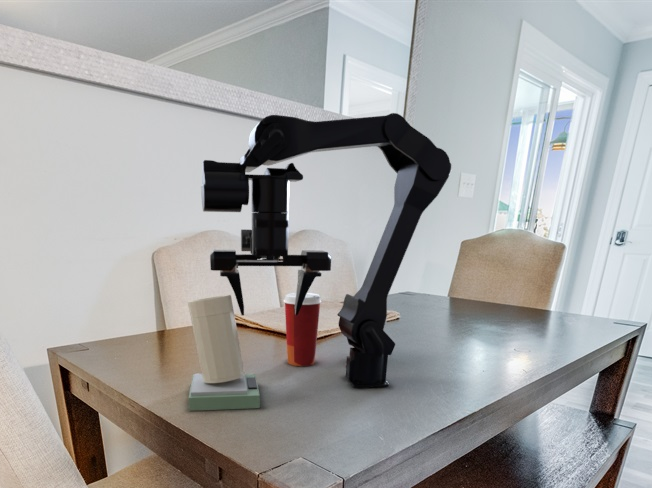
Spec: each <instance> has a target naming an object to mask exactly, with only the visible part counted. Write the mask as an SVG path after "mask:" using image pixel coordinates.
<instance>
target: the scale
mask: <svg viewBox="0 0 652 488" xmlns="http://www.w3.org/2000/svg"><path fill="white" fill-rule="evenodd" d="M187 400H188V410H189V412H193V411H194V412H196V411H217V410H218V411H220V410H222V411H223V410H245V409H248V410H249V409H260V408H261V396H260V390H259V386H258V382H257V377H256V373H245V372H244V376H242V377H240V378H238V379H235V380H231V381H227V382H221V383H205V382H204V380H203V377H202V372H200V373H193V375H192V376H191V381H190V388H189V393H188V399H187Z"/></svg>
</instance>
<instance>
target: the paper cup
mask: <svg viewBox="0 0 652 488" xmlns="http://www.w3.org/2000/svg"><path fill="white" fill-rule="evenodd" d="M295 299H296V292H290V293H286V294H285V296H284V299H283V301H282V302H283V303H284V311H285V313H284V314H285V333H286V334H285V335H286V336H285V337H286V355H287V364H289V366H290V365H291V366H295V367H308V366H312V365H314V364H315V360H316V352H317V342H318V341H317V340H318V332H319V321H320V320H319V319H320V309H321V303H322V302H323V301H322V300H321V296H320V294H318V293H316V292H315V293H314V292H307V294H306V296H305V299H304V301H303V304H302V306H301V309H300V311H299V314H298V315H295Z"/></svg>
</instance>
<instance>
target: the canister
mask: <svg viewBox="0 0 652 488" xmlns="http://www.w3.org/2000/svg"><path fill="white" fill-rule="evenodd" d="M187 306H188V312H189V317H190V321H191V327H192V331H193V336H194V342H195V346H196V352H197V357H198V361H199V366H200V371H201V372H200V373H202V377H203V380H204V382H205V383H221V382H227V381H231V380H235V379H238V378H240V377H242V376H244V373H245V369H244V361H243V358H242V357H243V356H242V350H241V346H240V339H239V334H238V327H237V322H236V317H235V316H236V315H235V310H234V304H233V299H232V295H231V294H226V295H218V296H211V297H203V298H199V299H194V300H189V301H187Z"/></svg>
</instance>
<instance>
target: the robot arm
mask: <svg viewBox="0 0 652 488" xmlns="http://www.w3.org/2000/svg"><path fill="white" fill-rule="evenodd" d="M370 147H378V149H379V150H380V151H381V152H382V154H383V157H384V159H385V160H386V161H387V163H388V165H389V167H390V168H391V169H392V170H393V171H394V172H395V173H396V174H397V175H396V177H395V178H396V179H395V183H394V192H393V193H394V195H393V197H394V198H393V199H394V203H393V207H392V210H391V213H390V214H389V217H388V220H387V222H386V225H385V227H384V230H383V233H382V234H381V237H380V240H379V242H378V245H377V248H376V250H375V252H374V255H373V258H372V260H371V262H370V265H369V268H368V270H367V273H366V275H365V278H364V280H363V283H362V285H361V287H360V288H359V290H358V291H357V292H355V294H354V295H351V294H349V293H346V294H345V295H344V298H343V302H342V303H343V304H342V307H341V309H340V311H339V312H338V313H337V314H336V315H337V317H339V320H338V328H339V330H340V333H341V334H342V335H343V336H344V337H346V340H347V343H348V345H349V346H352V347H349V355H347V356H346V360H345V364H346V365H345V379H346V380H347V381H348V382H349V383H350V385H351V386H352V387H353V388H355V389H364V388H365V389H366V388H388V387H390V384H389V382H388V381H387V374H388V373H387V372H388V362H389V361H388V360H389V356H391V355H392V353H393V351H394V349H395V347H396V342H395V341H394V340H393V339H392V338H391V337H390V336H389V335H388V334H387V333H386V332H385V330H384V329H385V326H386V325H385V322H387V318H388V296H389V294H390V291H391V288H392V286H393V284H394V281H395V279H396V277H397V275H398V272H399V270H400V267H401V265H402V262H403V261H404V257H405V255H406V252H407V250H408V248H409V245H410V244H411V240H412V238H413V236H414V233H415V232H416V229H417V226H418V225H419V221H420V219H421V216H422V214H423V213H424V212H425V211H426V210H427V209H428V207H429V206H430V205H431V204H432V203H433V201H435V199H436V198H437V197H438V196H439V194H440V193H441V191H442V189H443V188H444V186H445V184H446V182H447V181H448V179H449V177H450V175H451V171H452V163H451V161H450V157H449V155H448V154H447V152H446V151H445V150H444V149H442V148H440V147H437V146H436V145H435V143H434V142H433V141H432V140H431V139H430V138H429V137H428V136H426V135H424V134H423V133H422V132H420V131H419V130H417V129H416V128H415V127H414V126H411V124H410V123H409V122H408V121H407V120H406V118H405V117H403V115H401V114H400V113H397V112H392V113H389V114H386V115H376V116H365V117H353V118H344V119H341V118H340V119H332V120H321V121H320V120H319V121H312V120H306V119H303V118H299V117H296V116H287V115H280V114H270V115H267V116H265V117H264V118H262V119H261V120H260V121H258V123H257V124H256V125H255V126H254V127H253V128H252V129H251V131H250V134H249V137H248V149H247V150H246V151H245V154H244V155H243V156H242V157H240V158H239V162H226V161H225V162H224V161H222V162H220V161H216V160H211V159H204V160H203V161H202V163H201V164H202V165H201V167H202V174H201V186H200V195H201V207H202V211H203V212H204V213H205V212H206V213H209V212H211V213H241V212H242V210H243V206H248V205H249V201H250V192H251V229H240V251H241V252H250V254H247V253H244V254H243V253H242V254H241V253H237V251H236V250H235V249H213V250H212V251H211V252H210V254H209V263H210V264H209V265H210V271H214V272H217V271H218V272H219V276H220V277H222V278H223V277H226V278H227V280H228V283H229V284H230V286H231V288H232V289H231V290H232V291H233V293H234V296H235V299H236V303H237V305H238V308H239V311H240V314H241V316H245V305H244V304H245V302H244V297H243V289H242V284H241V283H242V282H241V276H240V272H239V267H300V269H298V270H297V285H296V292H295V293H296V299H295V315H298V314H299V311H300V309H301V306H302V304H303V301H304V299H305V296H306V294H307V293H309V292H308V291H309V290H310V288H311V286H312V284H313V283H314V281H315V279H316V278H319V277H322V272H330V271H331V270H332V257H331V255H330V252H328V251H325V250H316V249H315V250H310V249H309V250H306V249H305V250H303V249H302V250H301V253H300V254H289V231H290V230H289V227H290V183H291V182H293V183H296V182H300V181H303V179H304V175H303V174H302V173H301V172H300V171H299V169H297V167H296V166H295V164H294V162H290V163H289V164H287V165H286V166H285V168H281V167H267V168H265V171H264V174H250V173H251V172H253V171H255V170H256V169H258V168H259V167H261V166H274V165H277V164H279V163H282V162H286V161H289V160H292V159H295V158H298V157H301V156H304V155H307V154H311V153H318V152H321V153H322V152H329V151H338V150H339V151H340V150H350V149H360V148H370ZM246 173H249V174H246ZM250 181H251V183H250ZM250 184H251V185H250ZM250 186H251V187H250ZM250 189H251V191H250ZM281 257H282V258H281Z"/></svg>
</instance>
